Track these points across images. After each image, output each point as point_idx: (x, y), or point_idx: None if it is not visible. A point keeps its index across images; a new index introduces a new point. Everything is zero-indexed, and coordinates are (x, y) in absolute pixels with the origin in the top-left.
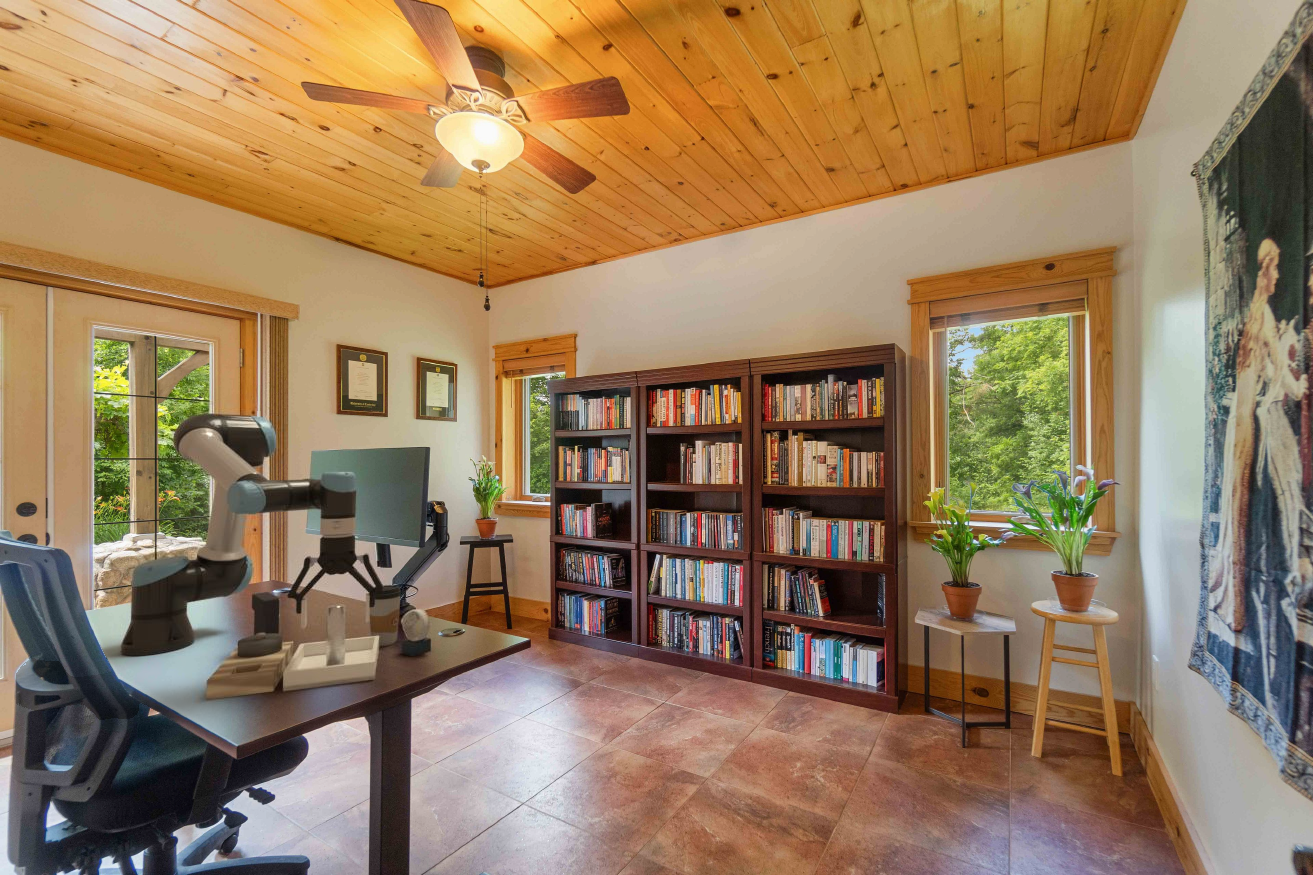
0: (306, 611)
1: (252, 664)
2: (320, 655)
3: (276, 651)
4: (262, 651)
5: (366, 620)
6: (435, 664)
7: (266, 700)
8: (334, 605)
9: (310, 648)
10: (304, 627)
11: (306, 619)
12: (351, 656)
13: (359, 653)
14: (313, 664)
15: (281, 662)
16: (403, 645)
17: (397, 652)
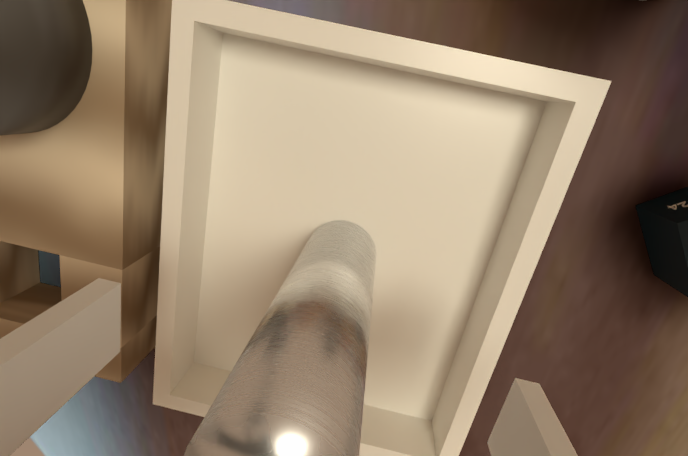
0: (31, 362)
1: (23, 239)
2: (293, 61)
3: (75, 102)
4: (9, 134)
5: (496, 454)
6: (673, 412)
7: (152, 400)
8: (252, 446)
9: (236, 32)
10: (115, 355)
11: (89, 310)
12: (417, 170)
13: (459, 145)
14: (262, 191)
15: (129, 244)
16: (666, 229)
17: (628, 169)
